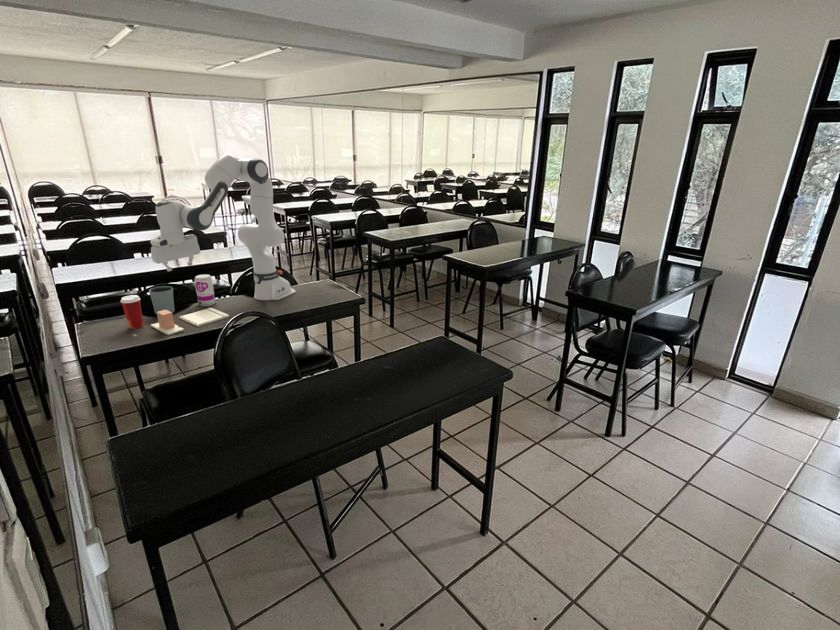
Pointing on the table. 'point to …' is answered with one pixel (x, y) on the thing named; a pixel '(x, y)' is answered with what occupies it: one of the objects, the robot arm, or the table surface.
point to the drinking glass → (162, 298)
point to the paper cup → (132, 311)
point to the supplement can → (204, 290)
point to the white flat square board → (204, 317)
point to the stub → (166, 323)
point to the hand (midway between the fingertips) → (180, 268)
